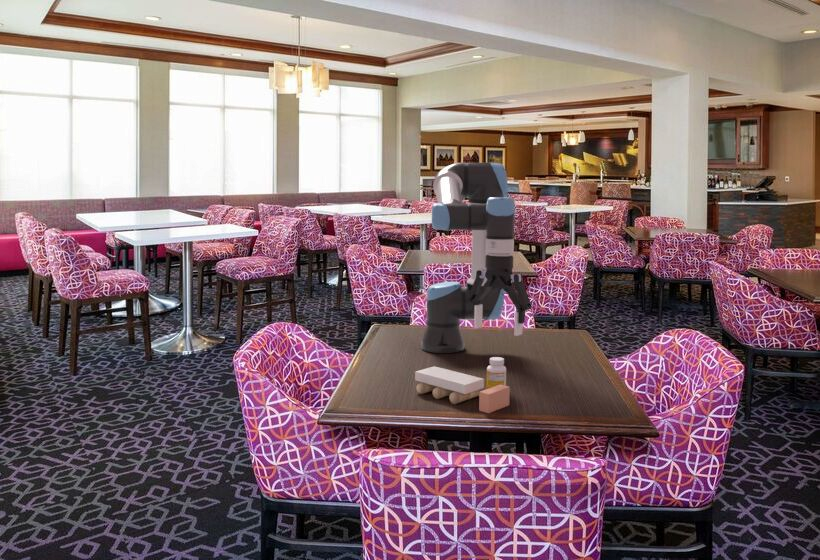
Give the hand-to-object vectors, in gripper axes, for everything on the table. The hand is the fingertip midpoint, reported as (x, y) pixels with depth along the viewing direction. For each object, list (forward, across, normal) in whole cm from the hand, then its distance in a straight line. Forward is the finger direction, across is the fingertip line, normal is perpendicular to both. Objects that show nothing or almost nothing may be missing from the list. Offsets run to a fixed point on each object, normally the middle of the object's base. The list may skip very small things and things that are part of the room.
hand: (497, 331), depth 188 cm
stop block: (+18, +7, -11) cm, 22 cm away
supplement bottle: (+18, 0, 0) cm, 18 cm away
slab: (+14, -8, -11) cm, 20 cm away
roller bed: (+18, -8, -11) cm, 22 cm away
